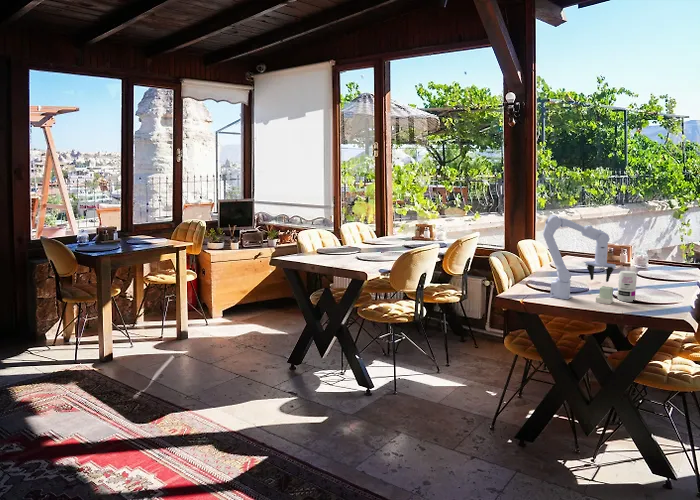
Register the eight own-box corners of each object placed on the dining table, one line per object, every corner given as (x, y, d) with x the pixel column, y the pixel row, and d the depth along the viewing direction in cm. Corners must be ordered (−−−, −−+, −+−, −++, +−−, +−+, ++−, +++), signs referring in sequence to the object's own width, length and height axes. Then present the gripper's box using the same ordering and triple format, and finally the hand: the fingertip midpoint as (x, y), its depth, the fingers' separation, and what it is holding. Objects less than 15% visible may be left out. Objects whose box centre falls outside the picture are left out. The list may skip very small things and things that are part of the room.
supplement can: (629, 298, 303) (631, 270, 300) (637, 302, 295) (639, 273, 292) (614, 298, 303) (616, 270, 300) (622, 302, 294) (624, 273, 292)
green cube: (599, 297, 295) (599, 287, 294) (602, 295, 299) (602, 286, 298) (609, 298, 292) (610, 289, 291) (612, 296, 295) (613, 287, 295)
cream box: (595, 303, 295) (595, 297, 294) (598, 300, 300) (599, 294, 300) (610, 305, 291) (610, 299, 290) (613, 302, 296) (613, 296, 296)
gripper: (584, 254, 299) (582, 280, 302) (613, 257, 290) (612, 283, 292) (588, 252, 305) (587, 277, 307) (617, 255, 296) (615, 281, 298)
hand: (599, 280), depth 300 cm, fingers open, 7 cm apart
